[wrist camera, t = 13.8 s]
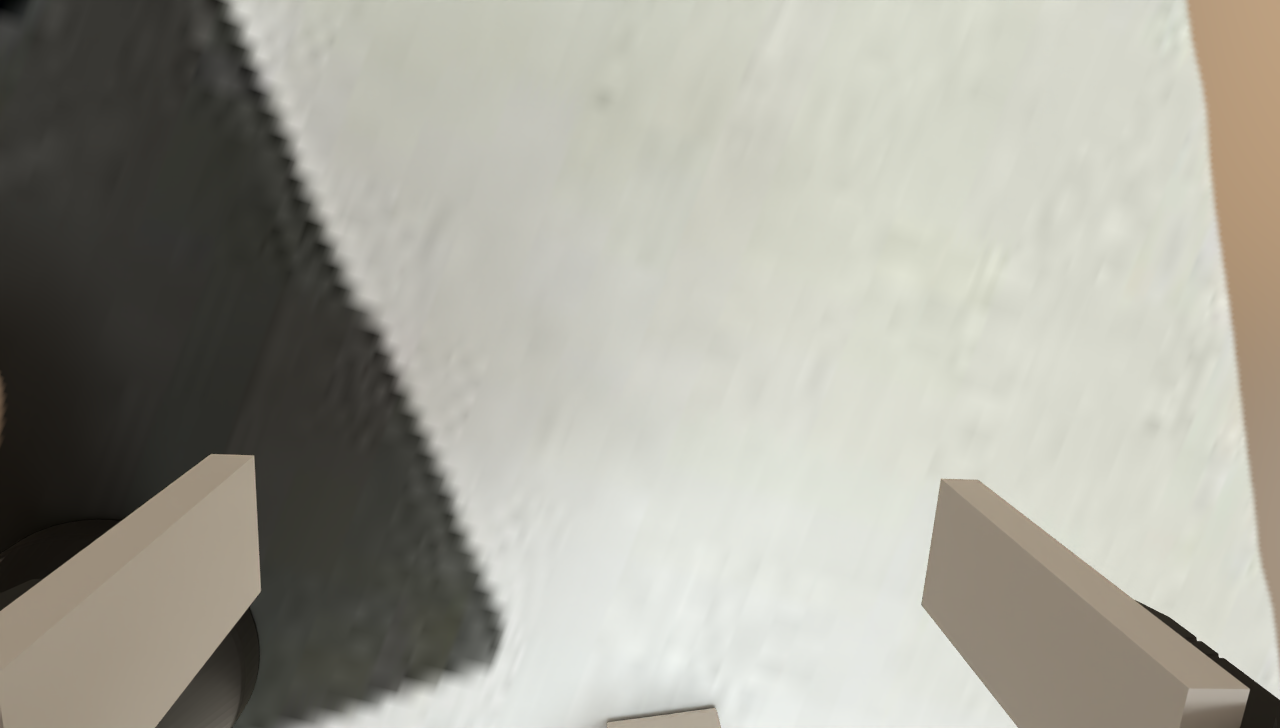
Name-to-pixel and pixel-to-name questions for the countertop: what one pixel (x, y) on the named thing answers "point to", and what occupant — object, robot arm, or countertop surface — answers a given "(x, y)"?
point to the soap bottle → (673, 720)
